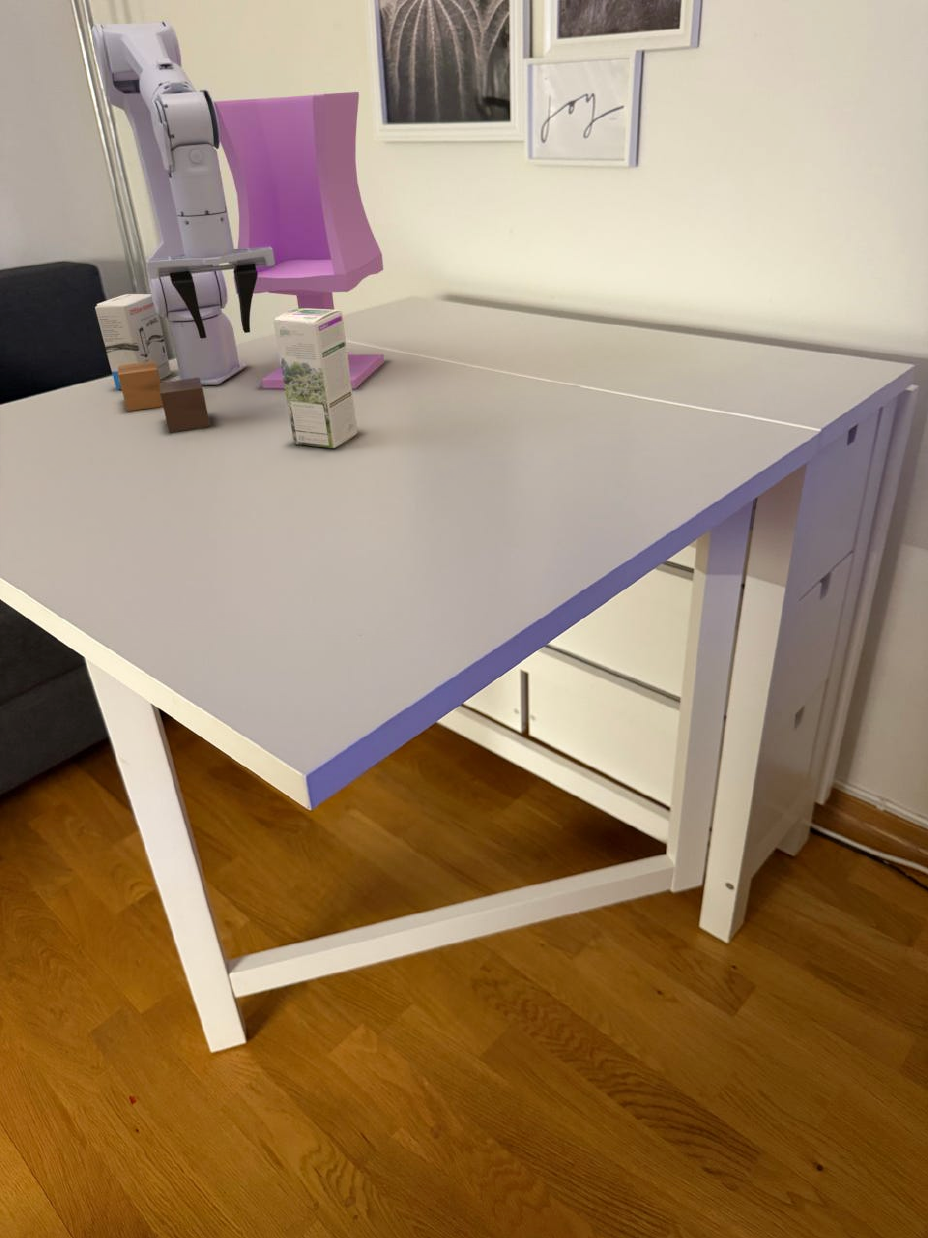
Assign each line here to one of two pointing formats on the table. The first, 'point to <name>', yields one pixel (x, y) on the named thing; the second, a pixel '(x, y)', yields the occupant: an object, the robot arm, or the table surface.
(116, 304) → the ink box
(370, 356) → the purple pedestal chair
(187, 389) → the walnut block
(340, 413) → the syrup box
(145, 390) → the oak block
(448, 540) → the table surface
